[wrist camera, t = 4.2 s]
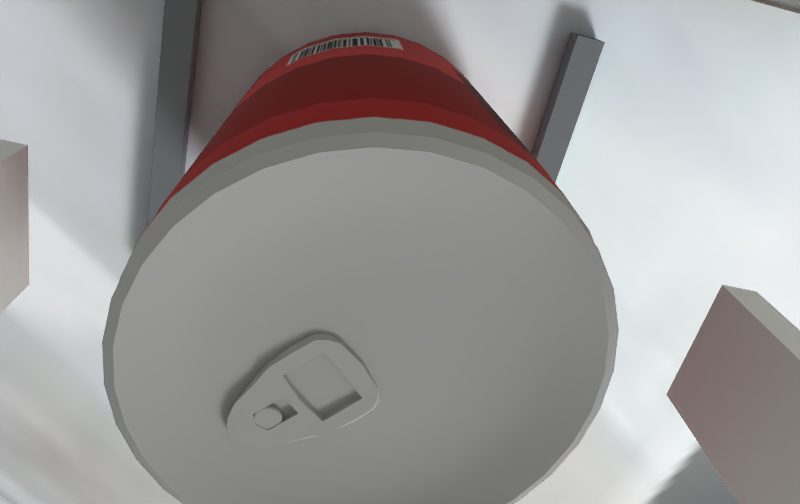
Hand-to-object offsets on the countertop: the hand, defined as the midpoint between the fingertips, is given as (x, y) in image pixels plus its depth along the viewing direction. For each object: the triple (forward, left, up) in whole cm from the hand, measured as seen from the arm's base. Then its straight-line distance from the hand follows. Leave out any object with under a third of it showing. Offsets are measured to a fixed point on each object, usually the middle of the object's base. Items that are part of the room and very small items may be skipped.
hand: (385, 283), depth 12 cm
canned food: (0, 0, -8) cm, 8 cm away
